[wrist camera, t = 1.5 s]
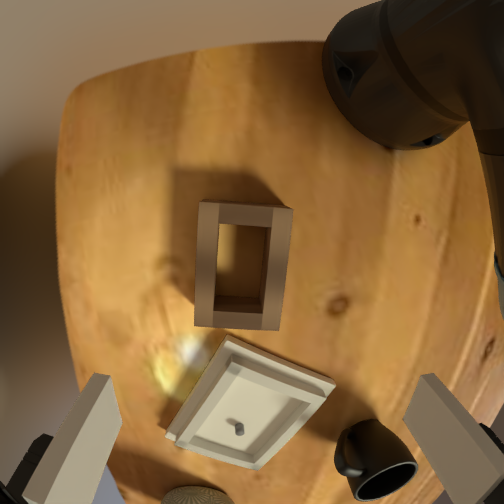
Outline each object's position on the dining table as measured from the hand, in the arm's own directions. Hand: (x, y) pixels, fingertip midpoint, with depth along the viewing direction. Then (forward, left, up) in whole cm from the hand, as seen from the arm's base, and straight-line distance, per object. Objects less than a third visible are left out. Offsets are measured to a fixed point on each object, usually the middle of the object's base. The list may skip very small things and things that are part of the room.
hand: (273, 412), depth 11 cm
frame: (-1, -2, -17) cm, 17 cm away
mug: (+12, +22, -17) cm, 30 cm away
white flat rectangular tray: (+14, +7, -17) cm, 23 cm away
